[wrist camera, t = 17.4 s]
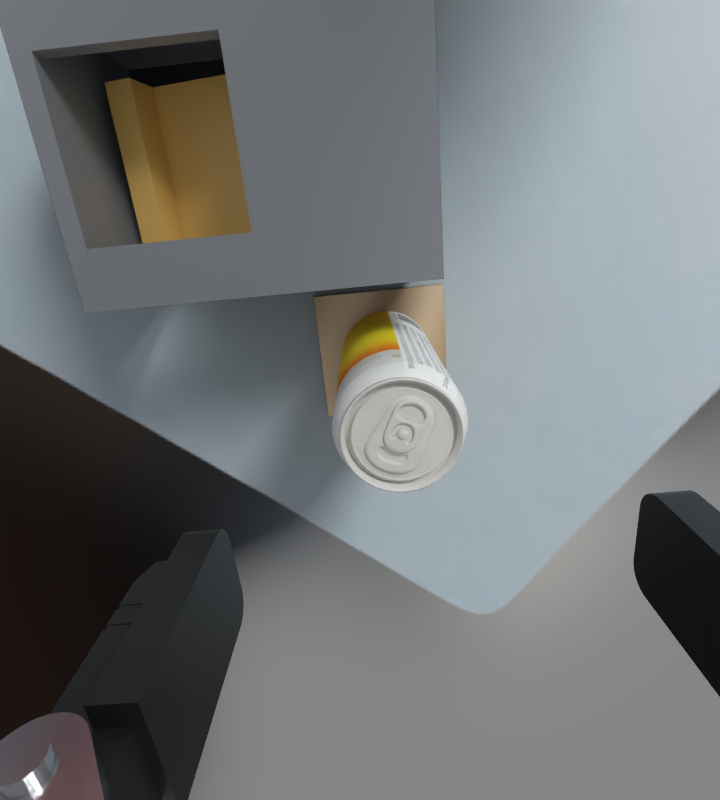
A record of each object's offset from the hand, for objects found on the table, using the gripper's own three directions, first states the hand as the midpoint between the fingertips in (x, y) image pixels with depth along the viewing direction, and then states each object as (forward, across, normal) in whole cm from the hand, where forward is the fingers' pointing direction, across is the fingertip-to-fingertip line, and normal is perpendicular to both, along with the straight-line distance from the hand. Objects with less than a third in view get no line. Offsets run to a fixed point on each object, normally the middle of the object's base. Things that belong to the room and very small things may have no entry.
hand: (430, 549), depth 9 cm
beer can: (+26, 0, +3) cm, 26 cm away
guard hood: (+26, +6, -10) cm, 29 cm away
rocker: (+22, +6, -10) cm, 25 cm away
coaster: (+26, 0, +3) cm, 26 cm away
